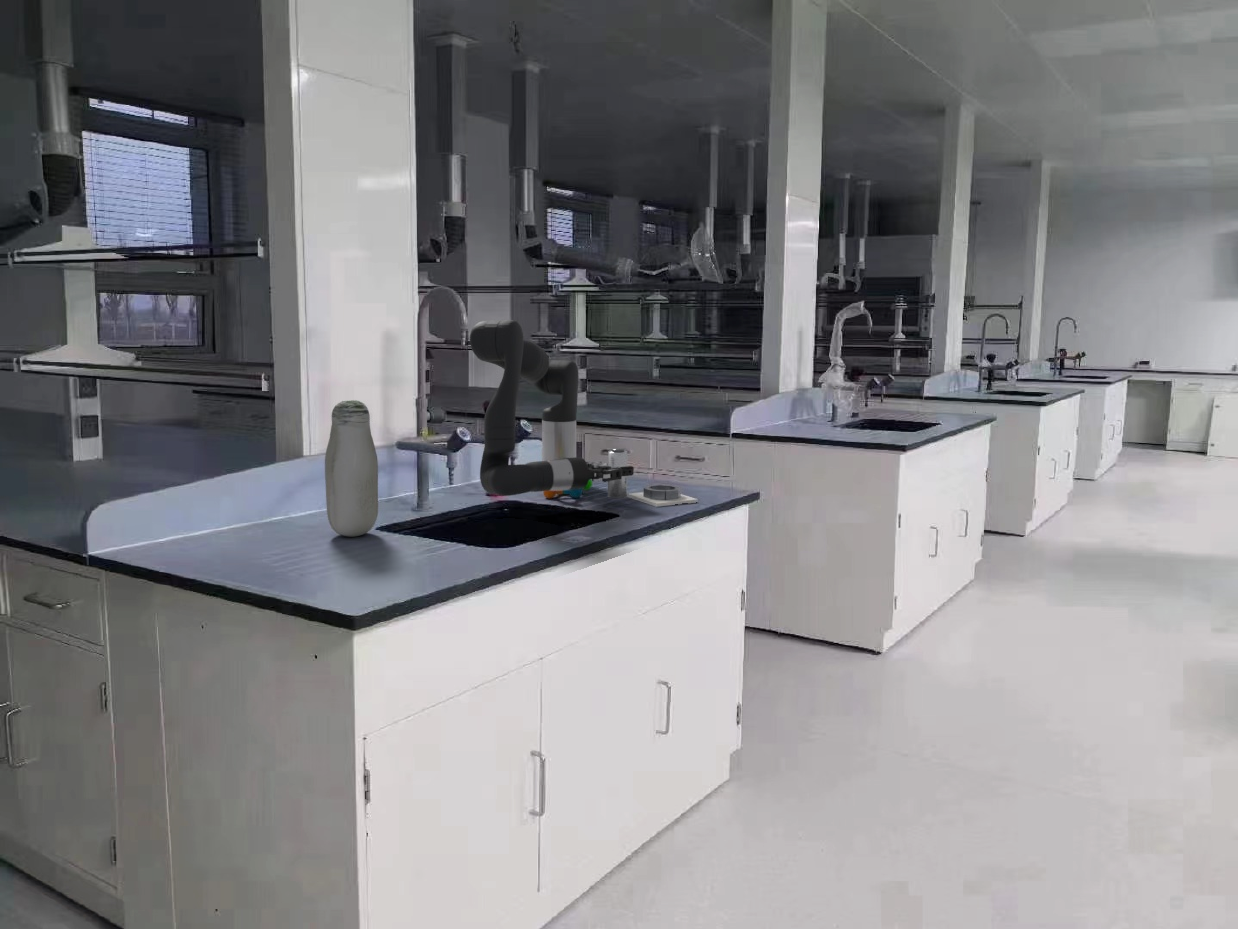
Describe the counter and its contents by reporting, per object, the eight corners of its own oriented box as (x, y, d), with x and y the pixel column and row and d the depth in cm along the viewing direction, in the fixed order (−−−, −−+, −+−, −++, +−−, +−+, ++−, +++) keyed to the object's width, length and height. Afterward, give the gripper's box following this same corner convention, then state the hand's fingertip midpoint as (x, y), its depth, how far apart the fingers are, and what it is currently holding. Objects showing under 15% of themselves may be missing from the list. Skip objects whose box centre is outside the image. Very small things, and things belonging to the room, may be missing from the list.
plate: (627, 496, 246) (627, 493, 246) (667, 492, 252) (667, 489, 252) (656, 506, 234) (656, 503, 234) (697, 502, 240) (697, 499, 240)
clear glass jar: (604, 495, 237) (604, 448, 235) (620, 493, 240) (621, 447, 238) (613, 498, 234) (614, 451, 232) (630, 497, 236) (630, 449, 234)
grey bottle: (357, 542, 195) (353, 403, 190) (317, 537, 199) (312, 401, 195) (388, 532, 204) (385, 399, 199) (350, 527, 208) (345, 397, 203)
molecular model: (593, 513, 245) (562, 483, 235) (560, 516, 250) (528, 488, 240) (601, 474, 251) (571, 444, 240) (569, 478, 256) (537, 449, 245)
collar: (638, 494, 244) (638, 486, 244) (667, 492, 249) (667, 483, 248) (656, 501, 237) (656, 492, 237) (686, 498, 241) (686, 489, 241)
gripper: (578, 463, 222) (642, 458, 230) (551, 454, 234) (613, 449, 242) (578, 495, 223) (642, 489, 231) (551, 484, 235) (613, 479, 244)
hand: (627, 468), depth 237 cm, fingers closed on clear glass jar, 4 cm apart
